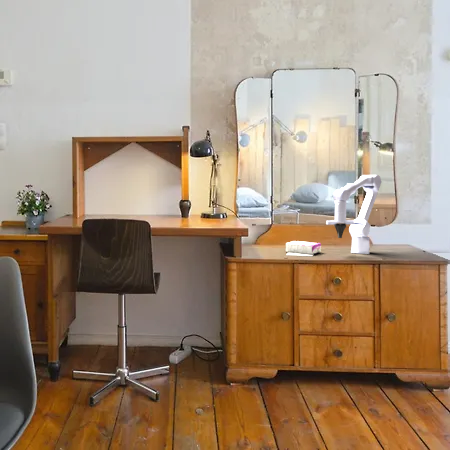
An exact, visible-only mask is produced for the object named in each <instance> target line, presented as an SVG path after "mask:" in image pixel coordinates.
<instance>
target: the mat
mask: <svg viewBox="0 0 450 450" xmlns="http://www.w3.org/2000/svg"><path fill="white" fill-rule="evenodd" d="M314 254H315V253H314ZM314 254H304V253H295V252H287V253H286V255H285V256H291V257H292V256H293V257H294V256H295V257H314Z"/></svg>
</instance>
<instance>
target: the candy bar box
mask: <svg viewBox="0 0 450 450" xmlns="http://www.w3.org/2000/svg"><path fill="white" fill-rule="evenodd" d="M321 247H322V244H321V242H318V243H317V242H309V241H299V240H297V241H296V240H292V241H290V242H286V243H285V252H287V253H288V252H295V253H304V254H317V253H321V251H322V248H321Z"/></svg>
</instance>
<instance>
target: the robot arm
mask: <svg viewBox="0 0 450 450" xmlns="http://www.w3.org/2000/svg"><path fill="white" fill-rule="evenodd" d="M381 185H382V179H381V176H380V175H379V174H362V175H361V176H360V177H359V178H358V179H357V180H356V181H354V183H348V182H347V183H346V185H345V186H344V187H343V186H342V187H341V188H340V189H336V190H335V191H334V192H333V195H332V197H333V200H334V201H333V202H334V204H335V205H334V220H333V219H332V220H326V223H325V224H326V225H333V226H334V229H335V231H336V234H337V238H338V239H342V238H343V234H344V231H345V230H346V228H347V225H350V226H349V228H348V231H349V234H350V236H351V250H350V253H351V254H364V255H365V254H366V255H367V254H368V255H369V254H370V251H371V248H370V240H371V239H370V236H369V234H370V227H371V224H370V223H369V222H368V221H369V219H370V217H371V216H370V215H371V213H372V210H373V207H374V205H375V201H376V199H377V195H378V192H379V190H380V187H381ZM359 188H363V190H364V191H365V192H366V195H365V198H364V201H363V202H362V205H361V209H360V211H359V214H358V217H357V218H355V219H354V220H353V219H352V220H350V219H349V220H347V201H348V200H349V198H350V197H351V196H352V195H353V194H355V193H356V192H357V189H359Z"/></svg>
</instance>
